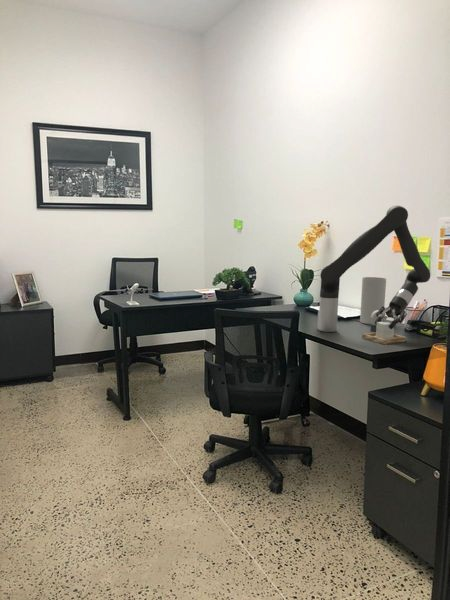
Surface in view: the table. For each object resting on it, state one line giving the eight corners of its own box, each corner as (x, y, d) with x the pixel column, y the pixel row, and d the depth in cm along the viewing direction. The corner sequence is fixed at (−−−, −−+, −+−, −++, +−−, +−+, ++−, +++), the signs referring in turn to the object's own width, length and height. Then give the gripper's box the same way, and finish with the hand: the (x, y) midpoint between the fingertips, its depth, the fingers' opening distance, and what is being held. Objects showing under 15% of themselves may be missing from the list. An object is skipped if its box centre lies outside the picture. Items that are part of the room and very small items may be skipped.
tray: (362, 338, 231) (362, 334, 230) (382, 335, 238) (382, 331, 237) (385, 344, 219) (385, 340, 218) (405, 341, 226) (406, 337, 225)
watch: (387, 332, 244) (389, 311, 242) (373, 333, 242) (374, 311, 240) (381, 330, 249) (382, 309, 248) (367, 330, 247) (368, 309, 246)
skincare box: (387, 336, 231) (388, 321, 230) (393, 339, 226) (394, 324, 224) (375, 336, 231) (376, 321, 229) (381, 339, 225) (382, 324, 223)
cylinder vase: (358, 323, 265) (361, 278, 261) (361, 320, 276) (363, 276, 273) (382, 326, 260) (385, 280, 257) (384, 321, 272) (387, 277, 268)
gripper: (386, 293, 235) (367, 318, 231) (410, 297, 223) (391, 323, 219) (392, 303, 238) (374, 328, 234) (417, 307, 226) (398, 334, 222)
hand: (382, 326), depth 226 cm, fingers open, 8 cm apart
